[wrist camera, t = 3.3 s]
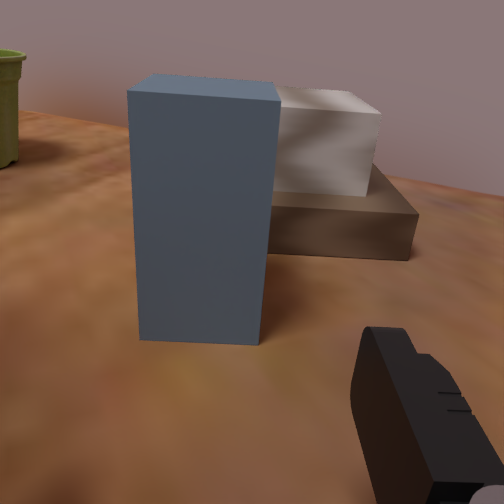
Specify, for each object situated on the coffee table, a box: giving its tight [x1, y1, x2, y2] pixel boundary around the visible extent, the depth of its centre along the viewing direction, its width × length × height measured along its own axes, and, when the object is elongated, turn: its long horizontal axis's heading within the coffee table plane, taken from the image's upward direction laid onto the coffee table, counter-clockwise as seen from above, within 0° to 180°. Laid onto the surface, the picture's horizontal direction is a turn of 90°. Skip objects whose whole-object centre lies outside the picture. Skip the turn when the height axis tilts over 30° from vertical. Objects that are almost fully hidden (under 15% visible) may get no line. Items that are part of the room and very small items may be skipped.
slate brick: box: [127, 74, 281, 345], centre depth 19 cm, size 5×5×10 cm
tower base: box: [267, 86, 419, 261], centre depth 32 cm, size 14×14×8 cm
